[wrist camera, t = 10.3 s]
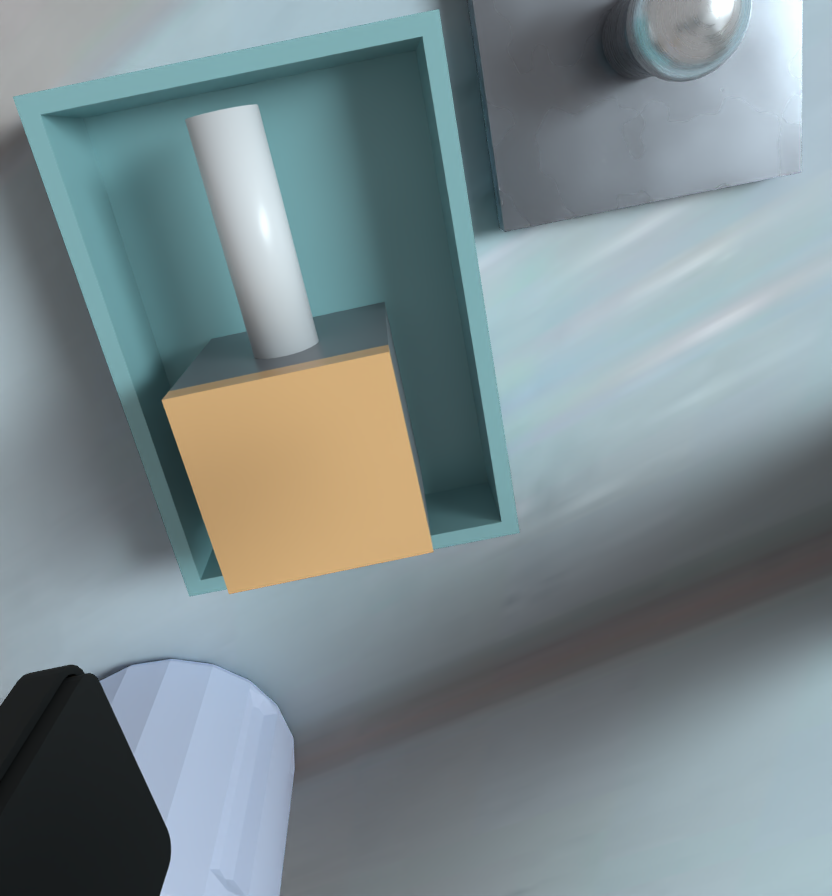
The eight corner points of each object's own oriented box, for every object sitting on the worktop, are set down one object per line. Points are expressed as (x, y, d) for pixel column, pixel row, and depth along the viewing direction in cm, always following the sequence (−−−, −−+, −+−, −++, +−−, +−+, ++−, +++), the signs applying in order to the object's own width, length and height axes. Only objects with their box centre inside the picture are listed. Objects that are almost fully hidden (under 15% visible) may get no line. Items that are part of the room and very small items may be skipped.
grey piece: (784, 171, 24) (904, 179, 18) (499, 228, 24) (536, 252, 19) (783, -183, 20) (929, -298, 15) (451, -113, 20) (479, -202, 15)
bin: (501, 486, 27) (519, 532, 24) (210, 542, 27) (189, 596, 24) (428, 29, 22) (439, 9, 18) (66, 103, 22) (13, 97, 19)
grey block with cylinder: (419, 461, 26) (433, 551, 20) (260, 495, 26) (228, 594, 20) (339, 96, 22) (328, 79, 16) (148, 137, 22) (69, 136, 16)
